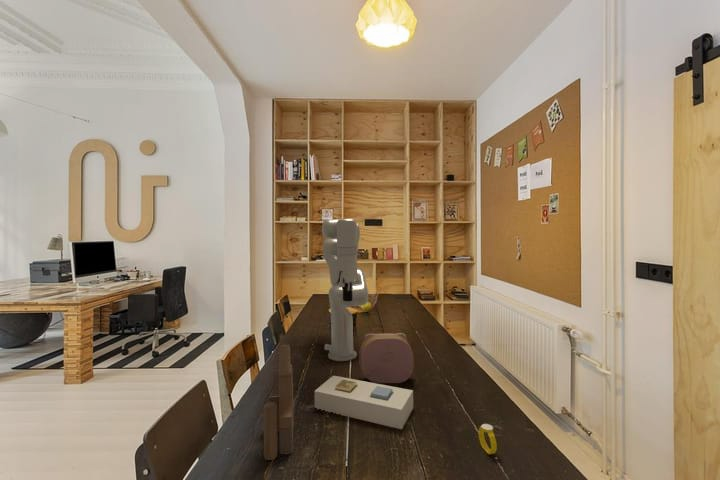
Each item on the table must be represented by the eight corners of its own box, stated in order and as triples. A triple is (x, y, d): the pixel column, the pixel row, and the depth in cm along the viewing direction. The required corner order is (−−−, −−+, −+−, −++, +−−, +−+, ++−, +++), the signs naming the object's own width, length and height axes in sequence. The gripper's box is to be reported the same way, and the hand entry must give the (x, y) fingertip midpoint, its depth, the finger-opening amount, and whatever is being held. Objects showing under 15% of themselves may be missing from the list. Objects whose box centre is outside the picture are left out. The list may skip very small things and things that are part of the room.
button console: (314, 408, 102) (314, 391, 101) (333, 391, 112) (333, 375, 112) (401, 429, 90) (401, 409, 90) (413, 408, 101) (412, 390, 101)
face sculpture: (411, 375, 124) (411, 331, 124) (415, 383, 117) (415, 337, 117) (359, 377, 124) (358, 333, 123) (359, 385, 117) (359, 339, 116)
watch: (476, 445, 84) (475, 421, 84) (486, 443, 84) (485, 419, 84) (489, 459, 78) (488, 433, 78) (500, 457, 78) (498, 431, 78)
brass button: (335, 394, 102) (335, 386, 102) (342, 388, 107) (342, 379, 107) (349, 398, 100) (349, 389, 100) (356, 390, 105) (356, 382, 105)
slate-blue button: (371, 402, 97) (371, 393, 97) (377, 394, 102) (377, 386, 102) (387, 405, 95) (386, 396, 95) (392, 398, 100) (392, 388, 100)
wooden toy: (269, 425, 93) (268, 337, 93) (293, 422, 94) (292, 336, 94) (263, 462, 78) (261, 358, 77) (292, 458, 79) (290, 355, 79)
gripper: (346, 250, 131) (347, 296, 131) (328, 253, 117) (329, 304, 118) (364, 250, 128) (364, 297, 128) (347, 253, 114) (347, 305, 115)
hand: (347, 300), depth 123 cm, fingers closed
